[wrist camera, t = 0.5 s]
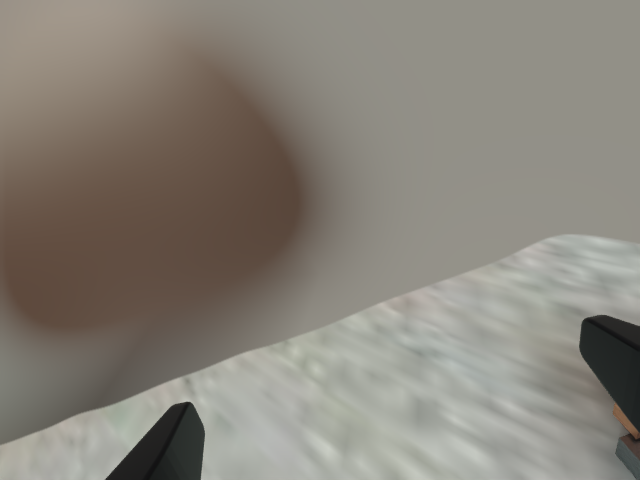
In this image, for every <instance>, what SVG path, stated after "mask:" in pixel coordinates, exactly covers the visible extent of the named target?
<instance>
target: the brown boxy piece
mask: <svg viewBox="0 0 640 480" xmlns="http://www.w3.org/2000/svg"><path fill="white" fill-rule="evenodd" d="M613 415H614V416H615V417H616V418H617V419H618V420H619V421H620V422H621V423H622V424H623V426H624V427H625V428H626V429H627V430H628V431H629V432H630V433H631V434H632V435H633V436H634V437H635V439H638V438H640V433H639V432H638V431H637V430H636V428H635V427H634V426H633V425H632V424H631V422H630V421H629V420H628V419H627V417H626V416H625V415H624V413H623V412H622V411H621V409H620V408H619V407H618V405H617V404H616V402H615V405H614V410H613Z"/></svg>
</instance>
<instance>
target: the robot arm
mask: <svg viewBox="0 0 640 480" xmlns="http://www.w3.org/2000/svg"><path fill="white" fill-rule="evenodd" d="M579 348H580V352H581V355H582V357H583V358H584V360H585V361H586V363H587V364H588V365H589V367H590V368H591V369H592V371H593V372H594V374H595V375H596V376H597V378H598V379H599V380H600V382H601V383H602V385H603V386H604V387H605V389H606V390H607V391H608V393H609V394H610V396H611V397H612V398H613V400H614V401H615V402H616V404H617V405H618V407H619V408H620V409H621V411H622V412H623V413H624V415H625V416H626V417H627V419H628V420H629V421H630V422H631V424H632V425H633V426H634V427H635V428H636V430H637V431H638V432H639V433H640V326H637V325H634V324H631V323H628V322H625V321H622V320H619V319H616V318H613V317H610V316H607V315H597V316H593V317H588V318H585V319H584V320H583V321H582V324H581V334H580V344H579ZM204 439H205V431H204V426H203V423H202V421H201V419H200V417H199V415H198V413H197V411H196V409H195V407H194V405H193V404H192V403H191V402H184V403H179V404H175V405H173V406H171V407H170V408H169V409H168V410H167V411H166V412H165V414H164V415H163V416H162V417H161V418H160V419H159V420H158V421H157V422H156V424H155V425H154V426H153V427H152V428H151V429H150V430H149V431H148V432H147V434H146V435H145V436H144V437H143V438H142V439H141V440H140V441H139V442H138V444H137V445H136V446H135V447H134V448H133V449H132V450H131V451H130V452H129V454H128V455H127V456H126V457H125V458H124V459H123V460H122V461H121V462H120V464H119V465H118V466H117V467H116V468H115V469H114V470H113V471H112V472H111V474H110V475H109V476H108V477H107V478H106V479H105V480H201V471H202V460H203V450H204Z"/></svg>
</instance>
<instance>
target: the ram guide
mask: <svg viewBox="0 0 640 480" xmlns="http://www.w3.org/2000/svg"><path fill="white" fill-rule="evenodd" d="M615 454H616V455H617V456H618V457H619V459H620V460H621V461H622V462H623V463H624V465H625V466H626V467H627V468H628V469H629V470H630V472H631V473H632V474H633V475H634V476H635V478H636V479H637V480H640V438H638V439H635V437H634V436H633V435H632V434H631V433H630V434H628V435H625V436H623V437H620V438H619V441H618V445H617V449H616V453H615Z"/></svg>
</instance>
